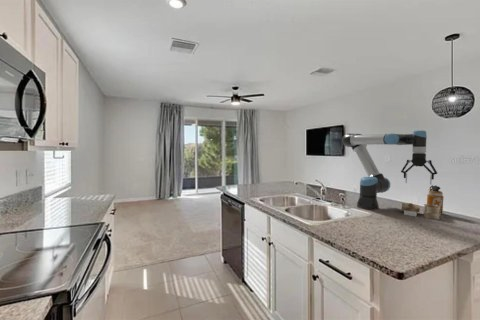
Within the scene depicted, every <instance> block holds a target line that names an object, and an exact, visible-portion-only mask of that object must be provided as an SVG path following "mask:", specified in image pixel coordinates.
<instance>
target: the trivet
mask: <svg viewBox="0 0 480 320" xmlns="http://www.w3.org/2000/svg"><path fill="white" fill-rule="evenodd" d="M403 215H405V216H411V217H417V215H418V212H412V211H405V210H403Z"/></svg>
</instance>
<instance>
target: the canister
mask: <svg viewBox="0 0 480 320" xmlns="http://www.w3.org/2000/svg"><path fill="white" fill-rule="evenodd" d="M440 190H441V187H440V186H438V185H433V184H431V185H430V186H429V190H428V194H427V195H426V197H427V198H426V204H428V205H437V206H439V207H440V208H441V214H440V215H442V214H443V211H444V209H443V208H444V195H443V194H444V193H443V191H440Z"/></svg>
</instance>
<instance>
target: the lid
mask: <svg viewBox="0 0 480 320" xmlns="http://www.w3.org/2000/svg"><path fill="white" fill-rule="evenodd" d="M420 208H421V207H420V205H419V204H413V203H411V202H408V203H404V202H402V203H401V211H404V210H405V211H412V212H417V213H420V211H421V210H420Z"/></svg>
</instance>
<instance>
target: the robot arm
mask: <svg viewBox="0 0 480 320" xmlns="http://www.w3.org/2000/svg"><path fill="white" fill-rule="evenodd" d="M427 138H428V136H427V131H426V130H414V131H412V133H411V134H410V133H406V134H405V133H404V134H402V133H401V134H400V133H384V134H381V133H379V134H376V133H375V134H362V133H345V134H344V135H343V136H342V138H341V142H342V144H343V146H344V147H347V148H351V149H352V151H353V152H355V153H356V155H357V157H358V159H359V161H360V164H361V165H362V167H363V169H364V170H365V173H366V175H367V176H363V177H361V178H360V181H359V197H358V199H357V201H356V207H357V208H359V209H363V210H370V211H372V210H373V211H375V210H376V211H377V210H379V207H380V204H379V202H378V199H377V197H378V196H377V194H380V193H386V192H388V191H389V190H390V187H391V182H390V180H389V179H388V178H387V177H384V174H383V172H380V171H379V169H378V167H377V165H376V164H375V162H374V159H373V158H372V156H371V155H370V153H369V150H368V148H367V146H368V145H392V146H393V145H396V146H403V145H404V146H408V145H409V146H410V145H412V152H411V153H412V158H411V159H407V160H406V163H405V164H404V166H403V168H402V169H401V171H400V173H402V174H403V179H405V183H406V184H407V183H408V172H409V171H410V170H411V169H412V168H413V167H424V168H425V170H426V171H428V172H429V174H430V175H429V185H432V181H433V180H434V179H435V175H437V174H438V171H437V170H436V168H435V167H434V165H433V162H432V160H431V159H429V160H427V154H426V153H427ZM410 163H412V165H410V166H409V167H408V168H407V166H408V165H409V164H410ZM426 164H429V166H430V167H431V169H432V170H431V169H430V168H429V167H428V166H427V165H426ZM406 168H407V169H406Z"/></svg>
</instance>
